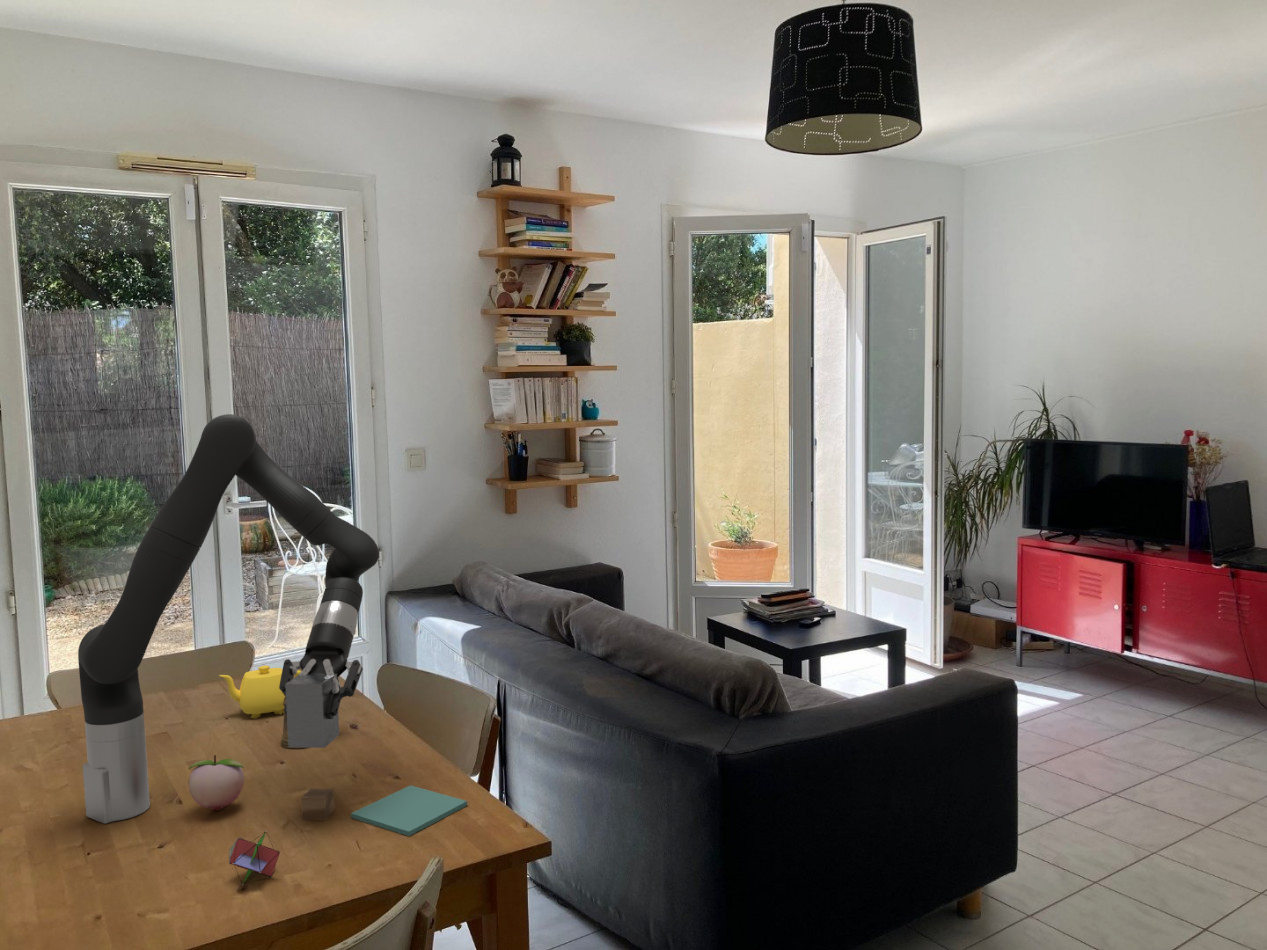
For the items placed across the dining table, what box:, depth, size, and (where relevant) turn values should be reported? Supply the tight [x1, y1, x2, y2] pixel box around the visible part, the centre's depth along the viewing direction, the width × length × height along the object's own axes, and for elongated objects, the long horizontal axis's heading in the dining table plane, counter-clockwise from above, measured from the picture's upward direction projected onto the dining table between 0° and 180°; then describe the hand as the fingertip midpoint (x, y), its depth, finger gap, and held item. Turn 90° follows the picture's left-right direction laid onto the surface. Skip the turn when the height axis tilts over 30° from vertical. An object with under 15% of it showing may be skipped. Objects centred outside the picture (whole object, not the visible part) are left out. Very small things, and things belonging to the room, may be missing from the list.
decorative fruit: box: [187, 754, 245, 811], centre depth 175 cm, size 9×8×10 cm
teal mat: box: [350, 785, 468, 837], centre depth 174 cm, size 14×14×1 cm
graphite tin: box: [285, 673, 340, 749], centre depth 172 cm, size 6×6×11 cm
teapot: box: [218, 665, 302, 719], centre depth 230 cm, size 18×11×11 cm, turn 116°
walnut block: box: [301, 787, 335, 821], centre depth 173 cm, size 4×4×4 cm
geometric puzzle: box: [228, 830, 281, 886], centre depth 151 cm, size 7×7×8 cm
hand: (309, 716), depth 170 cm, fingers closed on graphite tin, 6 cm apart
